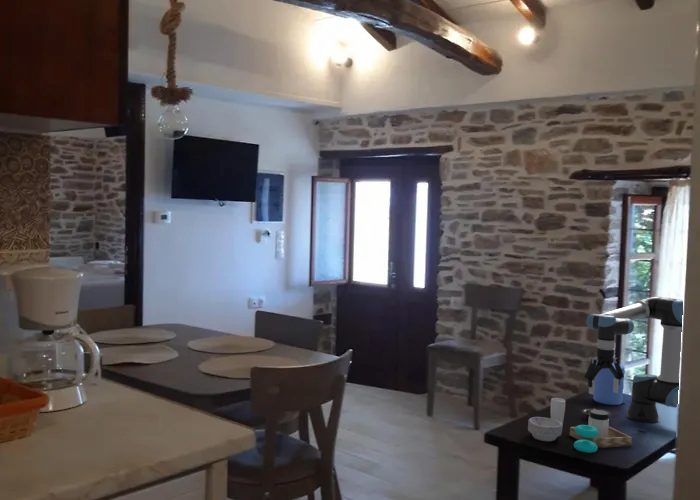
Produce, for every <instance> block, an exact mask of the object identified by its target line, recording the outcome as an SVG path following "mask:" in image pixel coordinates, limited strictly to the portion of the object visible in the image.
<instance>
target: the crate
mask: <svg viewBox="0 0 700 500" xmlns="http://www.w3.org/2000/svg"><path fill="white" fill-rule="evenodd" d="M575 427H576V426H570V427H569V436H571V437H572V438H574V439H576V440H589V441H592V442H594V443H595V444H596V445H597V447H598V449H603V448H604V449H605V448H619V447H621V448H622V447H631V446H632V441H633V440H632V439H633V437H632V436H630V435H629V434H626V433H623V432H621V430H617V429H615V428H614V427H611V426H609V428H608V438H596V439H595V438H593V437H591V438H589V437H583V436H580V435H578V434H577V433H576V432H575Z"/></svg>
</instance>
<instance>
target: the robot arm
mask: <svg viewBox="0 0 700 500" xmlns="http://www.w3.org/2000/svg"><path fill="white" fill-rule="evenodd" d="M682 315H683V299H680V298H671V297H662V296H652V297H648V298H643V299H641V300H637V301H635V302H634V304H631V305H626V306H625V307H621V308H617V309H614V310H613V309H612V310H611V311H607V312H602V313H601V314H600V313H599V314H597V313H590V314H589V315H587V318H586V326H587V327H588V328H589V329H591V330H597V345H596V346H597V349H596V357H597V358H596V359H595V358H591V359H590V364H589V366H588V367H587V370H586V373H584V374H585V375H584V377H583V379H586V380H587V386H588V394H590V395H592V396H594V382H595V376H596V375H597V374H598V372H599V371H600V370H602V368H603V369H605V368H609V369H610V371H611V372H612V373H613V375H614V376H615V378H614V381H613V392H615V393H618V386H619V385H620V380H621V379H622V378H623V377H624V378H625V374H624V375H623V372H622V370H621V367H620V364H621V363H620V359H619V358H617V357H615V350H614V349H615V342H616V340H615V338H616V336H620V335H621V336H622V335H624V336H626V335H629V334H630V335H631V334H632V332H634V329H635V325H634V322H633V321H635V320H639V319H641V320H645V319H655V320H659V321H660V326H661V327H662V328H663V331H662V332H663V333H662V346H661V359H660V363H661V364H660V371H659V372H660V374H659V375H656V374H650V373H649V374H647V373H646V374H645V373H643V374H635V375H634V376H633V377H632V378H633V379H632V382H631V383H632V387H631V388H632V389H631V403H630V406H629V407H628V410H627V411H626V417H627V418H628V419H631V420H633V421H635V422H642V423H657V422H659V419H660V418H659V414H658V410H657V409H658V408H657V406H656V404H659V405H663V406H666V407H669V408H670V407H671V408H675V409H676V408H678V407H677V404H678V390H679V378H680V371H681V370H680V369H681V368H680V366H681V357H680V352H681V353H682V343H681V332H682V333H683V330H682ZM613 357H614V358H613ZM612 363H614V365H615V368H616V370H615V368H614V366H613V365H612ZM596 364H597V365H596Z"/></svg>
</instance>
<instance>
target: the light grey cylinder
mask: <svg viewBox="0 0 700 500" xmlns="http://www.w3.org/2000/svg"><path fill="white" fill-rule="evenodd" d="M565 413H566V399H564V398H561V397H552V398H551V399H550V418H551V419H555V420H557V421H559V422H561V423H562V427H564V426H563V424H564V419H565V418H564V417H565Z"/></svg>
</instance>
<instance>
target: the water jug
mask: <svg viewBox="0 0 700 500" xmlns="http://www.w3.org/2000/svg"><path fill="white" fill-rule="evenodd" d="M613 358H615V356H614V357H613ZM619 364H620V367H621V370H622V372H623V375H624V377H623V378H622V379H621V380H620V385H619V386H618V393H615V392H613V381H614V378H615V376H614V375H613V373H612V372H611V371H610V369H609V368H605V369H603V368H602V370H600V371H599V372H598V374H597V375H596V376H595V378H594V395H592V397H593V398H592V399H593V401H595V402H596V403H599V404H603V405H609V406H619V405H622V404H623V402H624V400H623V396H624V388H625V385H624V384H625V383H624V382H625V373H626V372H625V370H626V369H625V365H622V364H621V363H619ZM596 365H597V364H596ZM612 365H613V366H614V368H615V365H614V363H612ZM615 370H616V368H615Z"/></svg>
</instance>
